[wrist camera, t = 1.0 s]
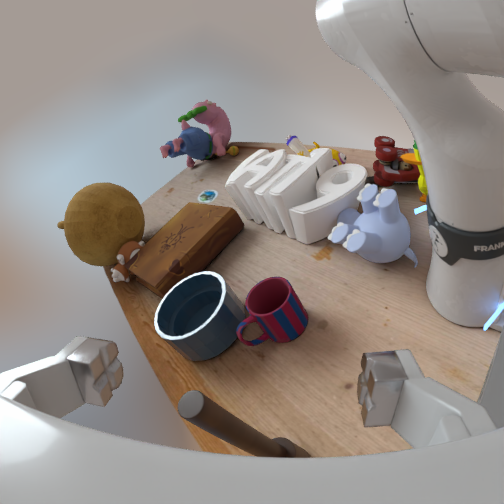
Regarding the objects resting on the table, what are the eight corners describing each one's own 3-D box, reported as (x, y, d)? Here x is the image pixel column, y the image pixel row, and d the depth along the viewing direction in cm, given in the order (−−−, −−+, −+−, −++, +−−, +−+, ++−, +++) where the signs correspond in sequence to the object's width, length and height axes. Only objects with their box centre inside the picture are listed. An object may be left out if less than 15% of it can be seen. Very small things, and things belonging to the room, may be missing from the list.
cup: (317, 320, 45) (301, 291, 41) (262, 366, 43) (239, 341, 39) (291, 298, 50) (274, 269, 46) (241, 339, 49) (219, 314, 45)
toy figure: (405, 200, 54) (391, 142, 47) (413, 189, 55) (400, 133, 48) (438, 208, 48) (428, 146, 42) (445, 196, 49) (435, 136, 43)
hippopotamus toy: (307, 228, 52) (342, 258, 56) (364, 259, 38) (398, 293, 43) (346, 177, 51) (376, 211, 55) (410, 193, 38) (437, 234, 42)
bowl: (242, 286, 58) (222, 259, 54) (252, 345, 47) (229, 319, 43) (179, 314, 60) (157, 291, 56) (178, 373, 49) (151, 351, 45)
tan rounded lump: (93, 168, 68) (47, 187, 83) (90, 271, 68) (45, 265, 84) (164, 181, 88) (107, 193, 104) (163, 266, 88) (106, 262, 104)
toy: (140, 124, 106) (200, 106, 124) (164, 183, 114) (221, 158, 132) (175, 98, 88) (240, 84, 107) (203, 169, 96) (263, 144, 115)
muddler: (306, 443, 32) (214, 371, 21) (313, 472, 29) (218, 423, 18) (274, 452, 33) (167, 387, 21) (280, 482, 30) (166, 436, 18)
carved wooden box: (173, 306, 62) (155, 288, 59) (138, 281, 76) (123, 265, 73) (246, 227, 71) (233, 207, 67) (200, 218, 84) (188, 201, 81)
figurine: (126, 274, 68) (155, 241, 76) (98, 260, 70) (128, 229, 78) (133, 299, 75) (160, 266, 83) (107, 285, 77) (134, 254, 85)
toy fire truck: (376, 157, 51) (434, 163, 48) (373, 132, 59) (422, 137, 56) (374, 191, 55) (428, 197, 52) (372, 162, 64) (418, 166, 61)
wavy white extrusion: (230, 210, 80) (209, 176, 74) (279, 172, 83) (261, 138, 77) (327, 263, 52) (305, 212, 46) (387, 204, 55) (373, 154, 49)
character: (291, 130, 80) (338, 129, 63) (307, 161, 85) (356, 168, 68) (272, 142, 79) (317, 143, 62) (290, 174, 84) (336, 184, 67)
